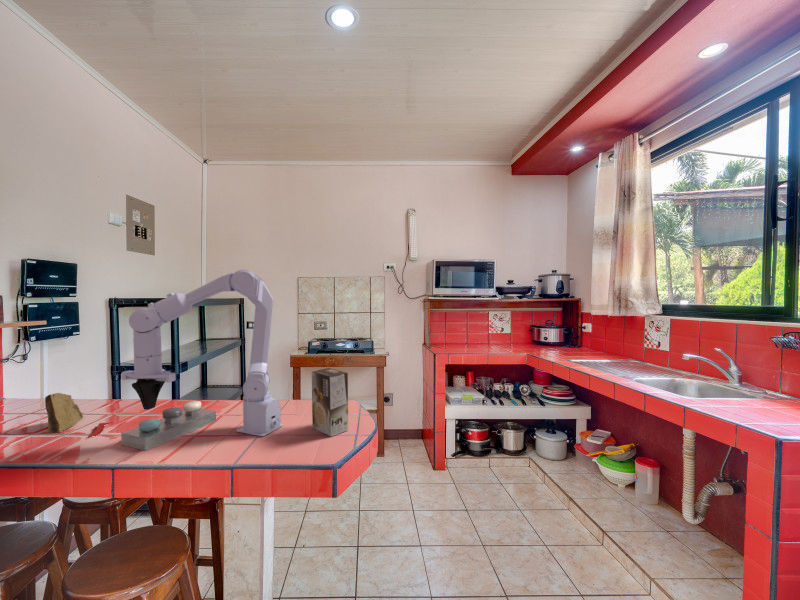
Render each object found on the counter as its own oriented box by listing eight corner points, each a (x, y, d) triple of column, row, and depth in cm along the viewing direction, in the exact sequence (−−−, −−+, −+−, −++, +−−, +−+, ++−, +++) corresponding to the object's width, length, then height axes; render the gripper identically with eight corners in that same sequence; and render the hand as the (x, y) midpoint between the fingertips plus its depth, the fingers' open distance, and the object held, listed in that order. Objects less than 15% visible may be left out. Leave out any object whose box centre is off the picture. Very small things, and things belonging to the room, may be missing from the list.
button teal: (164, 434, 91) (164, 419, 90) (146, 440, 86) (146, 426, 86) (152, 431, 92) (152, 417, 92) (135, 438, 88) (134, 423, 88)
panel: (216, 421, 103) (215, 411, 103) (145, 450, 84) (145, 438, 84) (194, 417, 106) (193, 407, 106) (121, 444, 87) (121, 432, 87)
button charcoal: (185, 421, 96) (185, 408, 96) (170, 427, 92) (170, 414, 92) (174, 419, 98) (174, 406, 98) (158, 425, 94) (158, 411, 93)
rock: (72, 408, 107) (31, 415, 97) (87, 387, 106) (47, 392, 97) (90, 434, 104) (49, 443, 94) (106, 412, 103) (66, 419, 94)
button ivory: (204, 414, 102) (204, 402, 102) (191, 419, 98) (190, 406, 98) (193, 412, 103) (193, 400, 103) (179, 417, 99) (179, 404, 99)
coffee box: (349, 430, 96) (349, 372, 96) (330, 437, 92) (330, 376, 91) (329, 421, 102) (329, 367, 102) (310, 427, 98) (310, 371, 97)
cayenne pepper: (107, 423, 102) (106, 417, 102) (123, 423, 102) (123, 417, 102) (70, 441, 90) (70, 434, 90) (88, 441, 90) (88, 434, 90)
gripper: (185, 353, 91) (186, 404, 91) (139, 351, 94) (140, 401, 95) (161, 358, 84) (162, 414, 85) (112, 356, 87) (114, 410, 88)
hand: (149, 408), depth 89 cm, fingers closed
